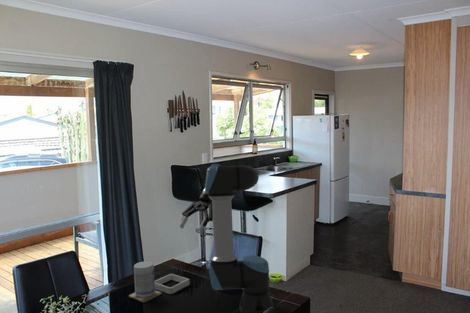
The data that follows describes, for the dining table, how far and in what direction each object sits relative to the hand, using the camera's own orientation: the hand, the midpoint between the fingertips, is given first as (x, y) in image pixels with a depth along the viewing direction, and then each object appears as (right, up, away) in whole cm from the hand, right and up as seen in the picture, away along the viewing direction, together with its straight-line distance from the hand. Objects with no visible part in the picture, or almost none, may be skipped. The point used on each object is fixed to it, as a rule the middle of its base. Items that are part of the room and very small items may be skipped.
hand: (190, 229), depth 209 cm
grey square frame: (-9, -28, -4) cm, 30 cm away
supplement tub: (-20, -29, -14) cm, 38 cm away
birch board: (-20, -30, -14) cm, 39 cm away
